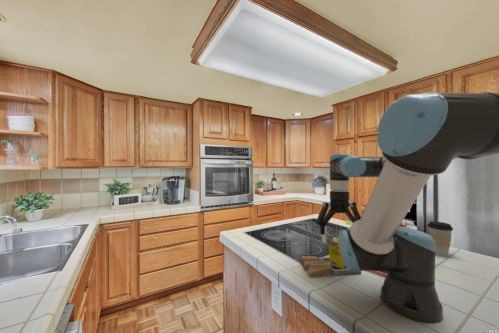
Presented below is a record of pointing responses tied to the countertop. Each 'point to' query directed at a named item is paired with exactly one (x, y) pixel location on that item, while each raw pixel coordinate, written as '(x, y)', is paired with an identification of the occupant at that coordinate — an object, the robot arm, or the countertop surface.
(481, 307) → the countertop surface
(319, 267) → the block
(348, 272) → the tray
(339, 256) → the supplement box
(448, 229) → the coffee cup
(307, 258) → the brown wooden block
